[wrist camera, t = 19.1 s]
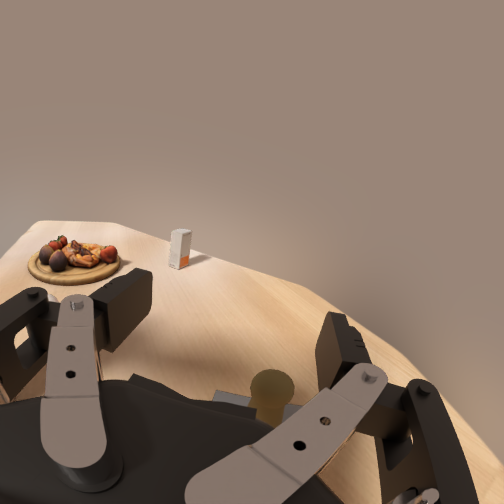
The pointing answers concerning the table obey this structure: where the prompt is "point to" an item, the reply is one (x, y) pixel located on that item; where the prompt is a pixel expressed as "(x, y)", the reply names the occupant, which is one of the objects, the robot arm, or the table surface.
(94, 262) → the wooden plate with food
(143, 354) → the table surface
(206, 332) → the table surface
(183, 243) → the skincare box
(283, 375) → the cork
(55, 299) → the white egg
